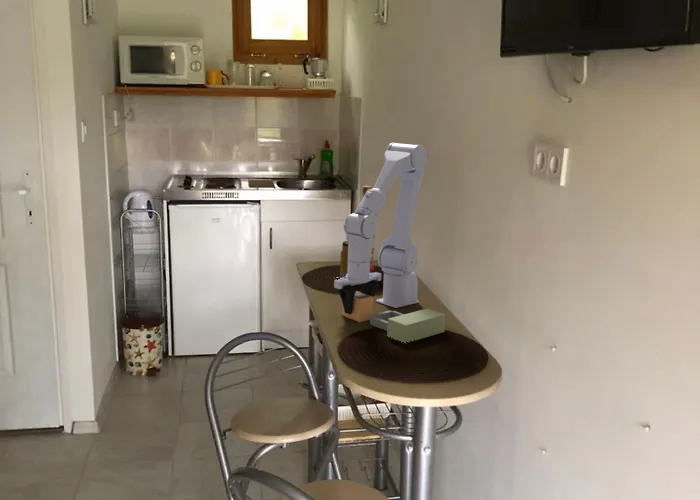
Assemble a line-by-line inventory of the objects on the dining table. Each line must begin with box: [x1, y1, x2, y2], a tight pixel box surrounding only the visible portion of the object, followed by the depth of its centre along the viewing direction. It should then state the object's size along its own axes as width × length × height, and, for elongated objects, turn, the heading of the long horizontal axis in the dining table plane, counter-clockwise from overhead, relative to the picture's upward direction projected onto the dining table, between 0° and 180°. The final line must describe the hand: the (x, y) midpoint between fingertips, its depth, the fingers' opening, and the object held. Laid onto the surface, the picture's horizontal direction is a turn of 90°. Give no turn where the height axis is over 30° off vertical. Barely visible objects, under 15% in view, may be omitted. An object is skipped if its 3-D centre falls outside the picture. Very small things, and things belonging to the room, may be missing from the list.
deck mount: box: [369, 307, 447, 344], centre depth 177 cm, size 14×16×4 cm
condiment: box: [336, 240, 348, 278], centre depth 219 cm, size 7×8×12 cm
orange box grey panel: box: [341, 290, 374, 323], centre depth 185 cm, size 4×7×6 cm, turn 41°
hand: (357, 311), depth 185 cm, fingers open, 6 cm apart
